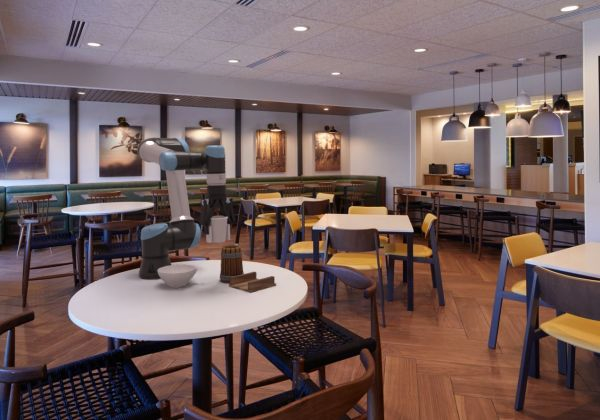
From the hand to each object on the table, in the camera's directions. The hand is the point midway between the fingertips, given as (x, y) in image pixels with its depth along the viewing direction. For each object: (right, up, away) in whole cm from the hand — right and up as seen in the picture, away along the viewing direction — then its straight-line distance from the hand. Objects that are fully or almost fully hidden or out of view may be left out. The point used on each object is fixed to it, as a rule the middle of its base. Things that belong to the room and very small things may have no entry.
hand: (218, 241), depth 178 cm
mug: (+4, -18, +17) cm, 25 cm away
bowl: (-19, -19, +9) cm, 28 cm away
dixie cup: (0, 0, 0) cm, 0 cm away
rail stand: (+13, -19, +6) cm, 24 cm away
